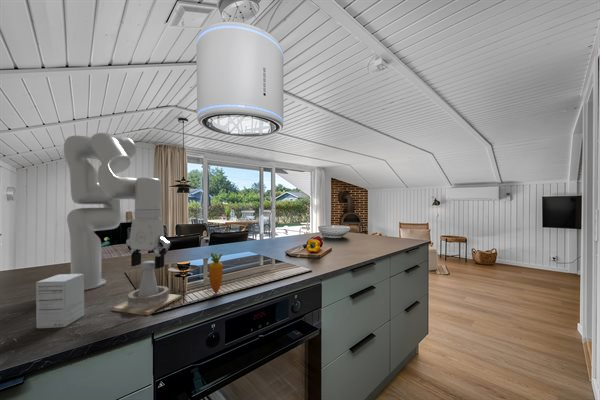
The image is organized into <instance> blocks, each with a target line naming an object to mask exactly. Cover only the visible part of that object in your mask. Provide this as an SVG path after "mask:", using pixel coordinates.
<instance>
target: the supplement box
mask: <svg viewBox="0 0 600 400" xmlns="http://www.w3.org/2000/svg"><path fill="white" fill-rule="evenodd" d="M35 301H36V302H35V304H36V306H35V308H36V309H35V311H36V318H35V320H36V322H35V323H36V329H51V328H53V329H54V328H65V327H67V326H69V325H70V324H72V323H74V322H75V321H77V320H79V319H80V318H82V317H84V316H85V290H84V274H71V273H68V274H67V273H63V274H56V275H53V276H50V277H47V278H44V279H41V280H39V281H35Z"/></svg>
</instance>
